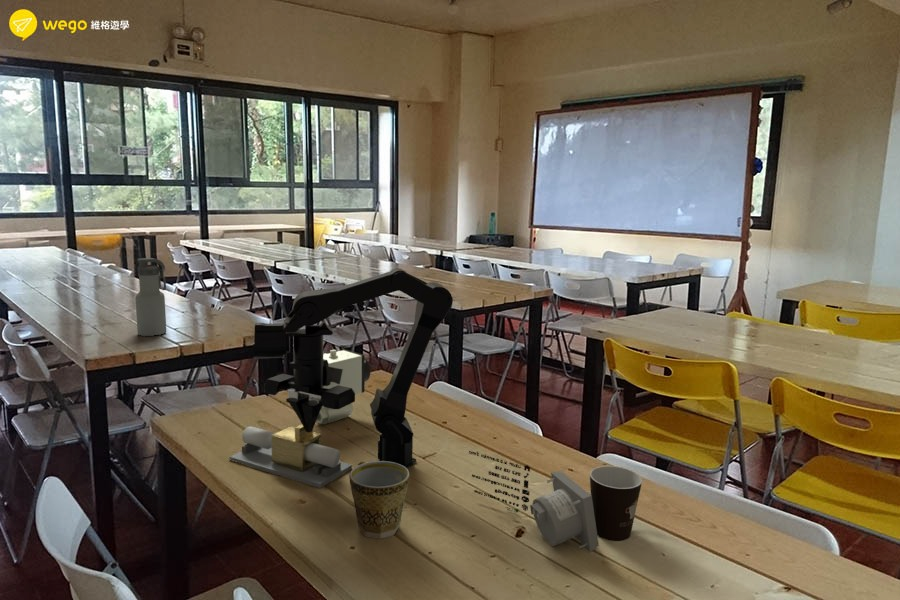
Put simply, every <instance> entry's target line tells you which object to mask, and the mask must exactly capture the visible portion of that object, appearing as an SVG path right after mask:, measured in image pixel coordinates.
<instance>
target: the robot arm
mask: <svg viewBox="0 0 900 600" xmlns="http://www.w3.org/2000/svg"><path fill="white" fill-rule="evenodd" d="M397 291H398V292H401V293H403V294H404V295H407V296H408V297H410V298H412V299H414V300H416V305H415V312H414V322H413V324H412V326H411V329H410V332H409V335H408V337H407V340H406V342H405V345H404V346H403V349H402V351H401V354H400V357H399V359H398V361H397V364H396V365H395V368H394V371H393V373H392V375H391V378H390V380H389V383H388V384H387V385H386V386H385V388H384V389H381V388H379V387H378V388H376V389H375V395H374V398H373V399H372V401H371V403H369V407H370V409H371V410H370V414H371V418H372V421H373V424H374V427H375V429H376V431H377V432H378V433H379V440H378V441H377V459H378V461H388V462H394V463H397V464H400V465H402V466H404V467H405V468H407V469H408V468H409V467H411V466H412V465H413V464H415V463H416V462H417V458H416V457H415V458H414V457H413V447H414V446H413V445H414V444H413V442H414V441H413V440H414V439H413V438H414V433H413V430H412V428H411V425H410V423H409V421H408V419H407V417H405V416H406V414H405V413H406V409H407V400H408V394H409V391H410V389H411V387H412V384H413V381H414V379H415V376H416V374H417V372H418V370H419V367H420V365H421V362H422V360H423V357H424V355H425V352H426V350H427V348H428V345H429V343H430V341H431V338H432V335H433V333H434V332H435V330H436V329H437V328H438V327H439V326H440V324H441V323H442V322H444V320H445V318H446V316H447V315H448V313H449V312H450V310H452V309H451V308H452V307H453V302H454V298H453V296H452V293H451V291H449V289H447V288H446V287H444V286H443V285H442V284H440V283H438V282H434V281H432V282H426V281H424V280H422V279H421V278H419V277H416V276H414V275H412V274H410V273H408V272H406V271H405V270H404V269H403V268H400V267H399V268H398V267H397V268H393V269H391V270H389V271H386V272H384V273H381V274H377V275H375V276H371V277H368V278H366V279H365V278H364V279H362V280H361V279H360V280H357V281H355V282H353V283H349V284H345V285H343V286H342V285H341V286H339V287H335V288H322V289H321V288H320V289H313V290H307V291H306V290H305V291H302V292H300V293H298V294H297V295H296V296H295V298H294V300H293V303H292V310H291V311H290V312H289V313H288V315H287V316H286V317H285V319H284V320H283V323H282V322H279V323H264V322H255V323H254V335H253V337H254V338H253V343H252V346H253V347H252V349H253V350H252V351H253V352H252V353H253V359H254V360H255V359H279V358H281V359H283V358H285V356H287V353H291V341H290V340H291V338H290V337H293V338H292V340H293V346H292V347H293V349H292V351H293V361H291V362H289V363H288V365H289V369H293V375H291V374H286V373H281V374H278V375H275V376H273V377H272V376H271V377H269V378H267V379H266V381H265V382H264V390H263V391H264V392H263V393H264V394H266V395H271V396H277V395H278V394H279V392H280V390H283V391H287V393H288V398H286V399H285V401H286V403H288V404H289V405H290V407H291V408H292V409H293V411H294V412H295V414H296V416H297V418H298V419H299V421H300V423H301V424H302V425H303V427H304V429H305V431H306V432H309V433H310V432H312V431H313V432H314V427H315V425H316V423H317V422H316V420H317V417H318V414H319V412H320V410H321V408H322V406H324V407H326V408H331V409H340V408H343V407H345V406H347V405H349V404H351V403H352V404H353V403H355V402H356V395H355V392H354V390H353V389H352V388H349V387H344V386H339V385H337V386H335V387H333V388H330V389H326V388H323V386H328V385H330V384H331V382H335V383H337V384H340V381H341V376H342V371H343V369H339V368H334V367H329V366H328V361H327V360H325V359H323V354H324V336H332V335H333V334H334V331H333V328H332V327H331V326H329V324H327V322H326V319H328V318H329V317H332V315H334V314H335V313H337V312H339V311H341V310H342V309H344V308H347V307H351V306H354V305H357V304H358V305H359V304H361V303H363V302H366V301H371V300H373V299H375V298H379V297H382V296H385V295H389V294H391V293H395V292H397ZM320 322H321V323H320ZM318 323H320V324H318ZM303 327H304V328H303Z"/></svg>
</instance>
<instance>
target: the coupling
mask: <svg viewBox="0 0 900 600" xmlns="http://www.w3.org/2000/svg"><path fill="white" fill-rule="evenodd" d="M271 439H272V462H273V463H277V464H280V465H283V466H287V467H290V468H294V469H297V470H300V471H304V470H305V469H307V468H309V467H311V466H313V465H314V464H316V463H314V462H310V461H307V460H305V445H307V444H309V443H315V444H319V445H322V434H321V433H318V432H315V431H314V430H313V431H312V432H310V433H309V432H306V431H305V429H304V427H303V425H302V423H301V424H299V425H297V426H289V427H286V428H284V429H282V430H279V431H277V432H274V434H273V435H271Z"/></svg>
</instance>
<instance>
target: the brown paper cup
mask: <svg viewBox="0 0 900 600" xmlns="http://www.w3.org/2000/svg"><path fill="white" fill-rule="evenodd" d="M589 484H590V485H589V487H590V495H591V496H592V502H593V509H594V516H595V523H596V530H597V537H598V538H600V539H603V540H607V541H611V542H622V541H626V540H628V539H629V538H630V537H631V534H632V531H633V530H632V529H633V525H634V521H635V515H636V511H637V506H638V502H639V497H640V494H641V488H642V484H643V478H642V476H640V475H639V473H637V472H636V471H634V470H632V469H628V468H626V467H622V466H618V465H616V466H615V465H602V466H601V465H600V466H597V467H594V468H592V469H591V470H590V472H589Z"/></svg>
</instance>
